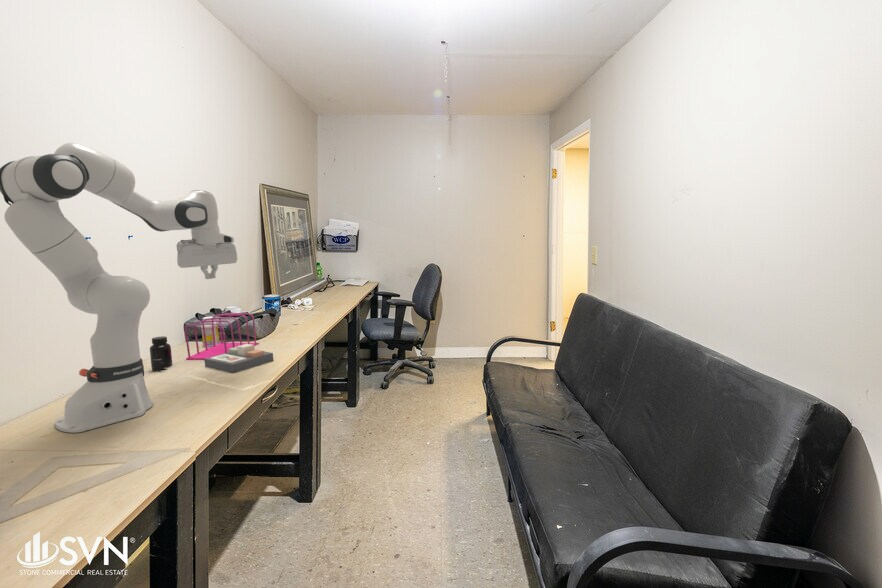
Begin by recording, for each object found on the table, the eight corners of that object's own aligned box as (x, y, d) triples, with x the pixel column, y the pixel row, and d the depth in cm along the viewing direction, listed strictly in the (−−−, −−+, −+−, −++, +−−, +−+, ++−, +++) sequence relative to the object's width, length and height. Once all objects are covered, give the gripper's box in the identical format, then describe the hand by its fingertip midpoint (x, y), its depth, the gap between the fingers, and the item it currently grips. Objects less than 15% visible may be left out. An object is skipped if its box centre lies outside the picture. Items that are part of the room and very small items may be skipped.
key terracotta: (254, 364, 172) (253, 353, 171) (247, 362, 174) (246, 352, 174) (264, 361, 176) (263, 350, 175) (257, 359, 178) (256, 349, 177)
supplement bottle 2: (214, 342, 214) (212, 315, 212) (222, 344, 210) (219, 316, 209) (200, 346, 209) (197, 318, 207) (208, 348, 205) (205, 319, 203)
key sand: (244, 358, 175) (243, 347, 174) (237, 356, 177) (236, 346, 176) (254, 355, 178) (254, 344, 178) (247, 353, 181) (246, 343, 180)
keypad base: (233, 375, 164) (232, 363, 163) (205, 369, 173) (204, 357, 172) (273, 363, 178) (272, 351, 178) (245, 357, 187) (244, 346, 186)
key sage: (236, 360, 178) (235, 350, 177) (229, 359, 180) (228, 348, 179) (246, 357, 181) (245, 347, 181) (239, 356, 184) (238, 346, 183)
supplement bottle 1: (153, 372, 170) (150, 340, 169) (150, 369, 176) (146, 337, 174) (175, 368, 175) (171, 337, 173) (170, 365, 180) (167, 334, 178)
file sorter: (185, 362, 183) (181, 323, 181) (221, 346, 208) (218, 311, 206) (228, 362, 181) (224, 323, 179) (259, 346, 206) (255, 311, 204)
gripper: (181, 239, 151) (186, 282, 153) (237, 237, 168) (241, 275, 170) (170, 240, 154) (175, 281, 156) (227, 237, 171) (230, 275, 173)
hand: (210, 278), depth 163 cm, fingers closed
